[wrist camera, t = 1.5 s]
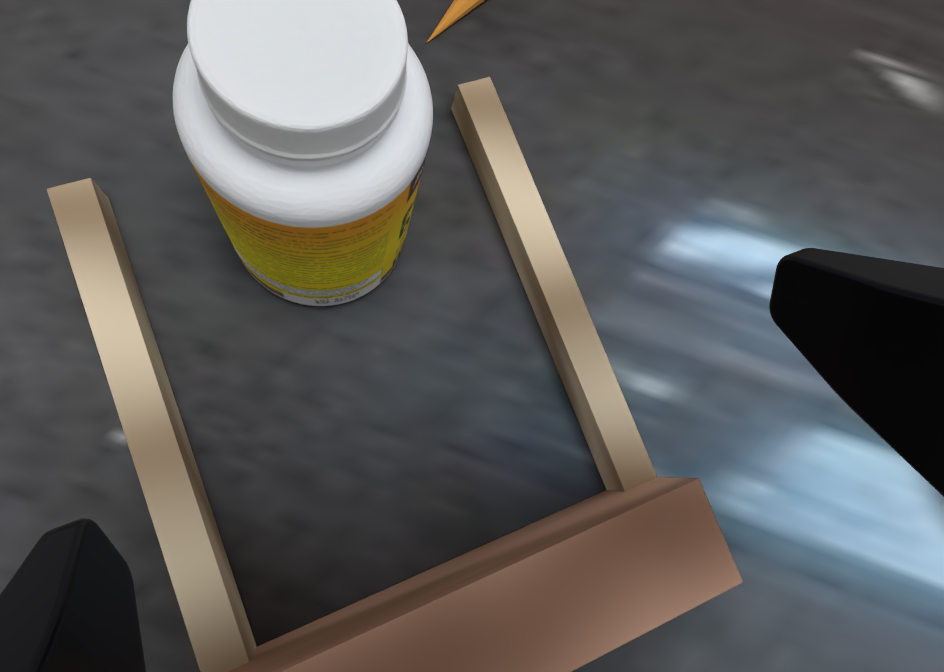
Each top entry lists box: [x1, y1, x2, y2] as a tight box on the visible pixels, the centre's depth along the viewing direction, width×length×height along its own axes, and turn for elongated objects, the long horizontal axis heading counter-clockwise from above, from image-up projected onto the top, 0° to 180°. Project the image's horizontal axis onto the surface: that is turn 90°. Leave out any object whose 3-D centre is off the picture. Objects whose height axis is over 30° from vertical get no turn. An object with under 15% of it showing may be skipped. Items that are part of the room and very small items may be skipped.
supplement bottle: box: [173, 0, 433, 306], centre depth 17 cm, size 6×6×10 cm
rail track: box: [47, 77, 743, 672], centre depth 19 cm, size 18×14×4 cm
